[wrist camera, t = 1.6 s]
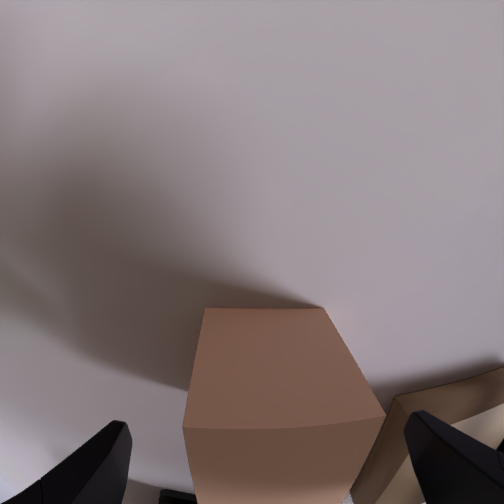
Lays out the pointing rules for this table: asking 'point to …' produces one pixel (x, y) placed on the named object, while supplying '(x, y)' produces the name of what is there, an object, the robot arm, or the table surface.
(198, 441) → the terracotta block
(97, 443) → the robot arm
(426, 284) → the table surface
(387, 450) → the tan block
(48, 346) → the table surface
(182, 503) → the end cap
